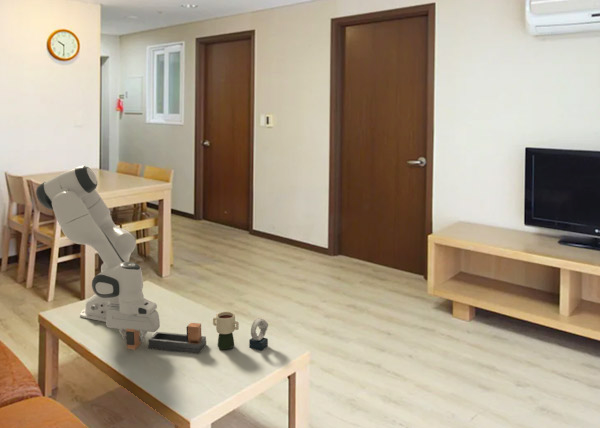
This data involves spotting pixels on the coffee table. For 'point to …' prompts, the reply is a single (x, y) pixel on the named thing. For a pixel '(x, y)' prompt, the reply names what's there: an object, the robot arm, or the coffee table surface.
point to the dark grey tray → (179, 340)
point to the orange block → (132, 338)
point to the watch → (259, 341)
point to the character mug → (225, 329)
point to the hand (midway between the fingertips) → (133, 339)
